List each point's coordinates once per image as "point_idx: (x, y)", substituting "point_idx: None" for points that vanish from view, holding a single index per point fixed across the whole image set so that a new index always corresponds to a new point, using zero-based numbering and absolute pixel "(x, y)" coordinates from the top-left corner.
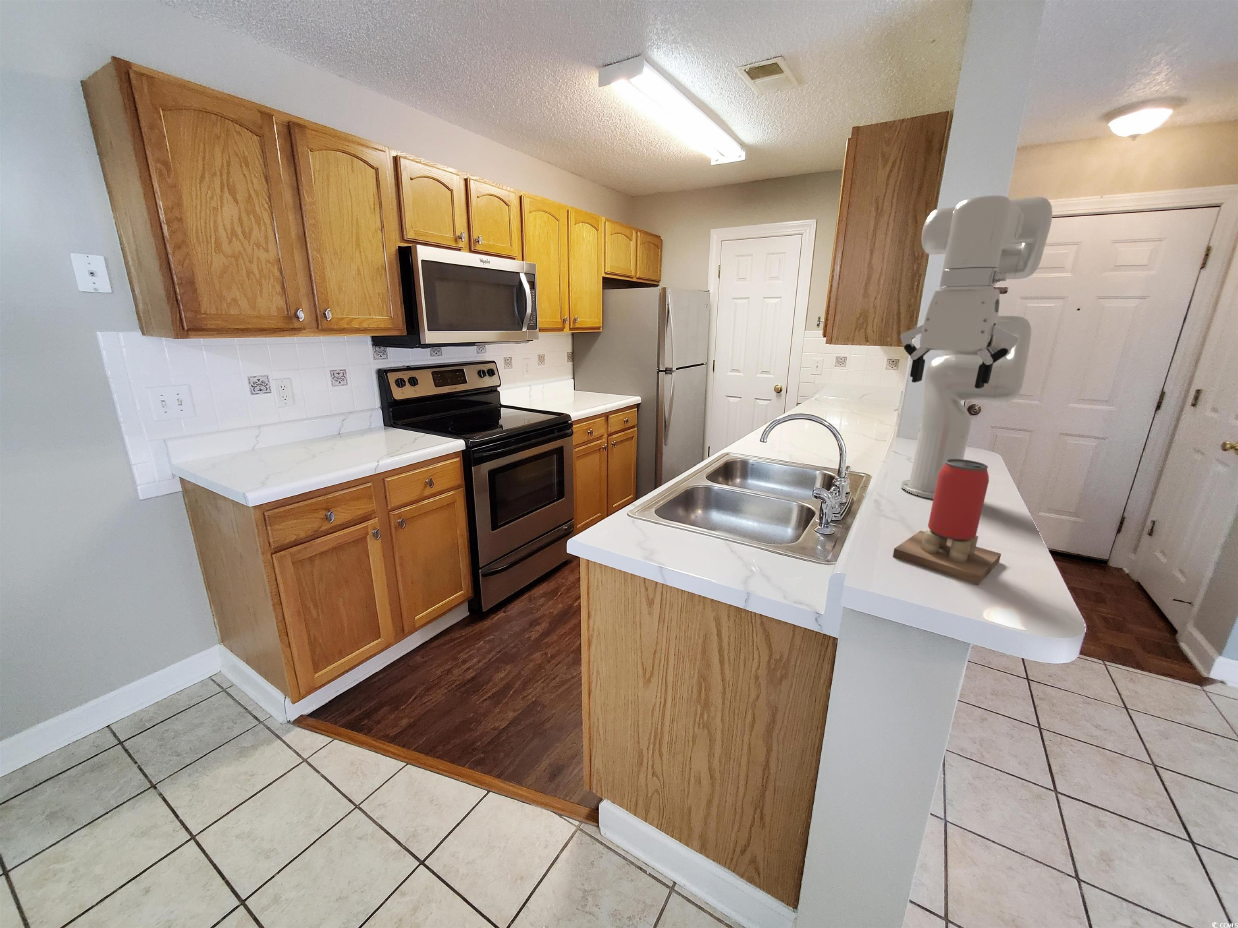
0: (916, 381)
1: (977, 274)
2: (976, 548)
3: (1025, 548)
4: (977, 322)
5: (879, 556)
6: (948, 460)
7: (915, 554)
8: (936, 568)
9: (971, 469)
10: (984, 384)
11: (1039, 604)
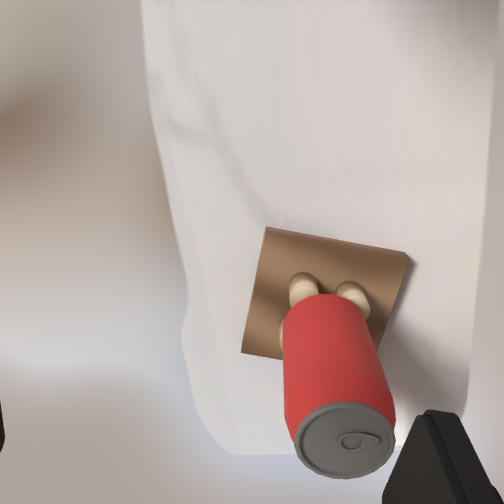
0: (2, 444)
1: None
2: (368, 262)
3: (467, 133)
4: None
5: (224, 353)
6: (301, 433)
7: (274, 355)
8: None
9: (356, 473)
10: (459, 421)
11: (438, 373)
